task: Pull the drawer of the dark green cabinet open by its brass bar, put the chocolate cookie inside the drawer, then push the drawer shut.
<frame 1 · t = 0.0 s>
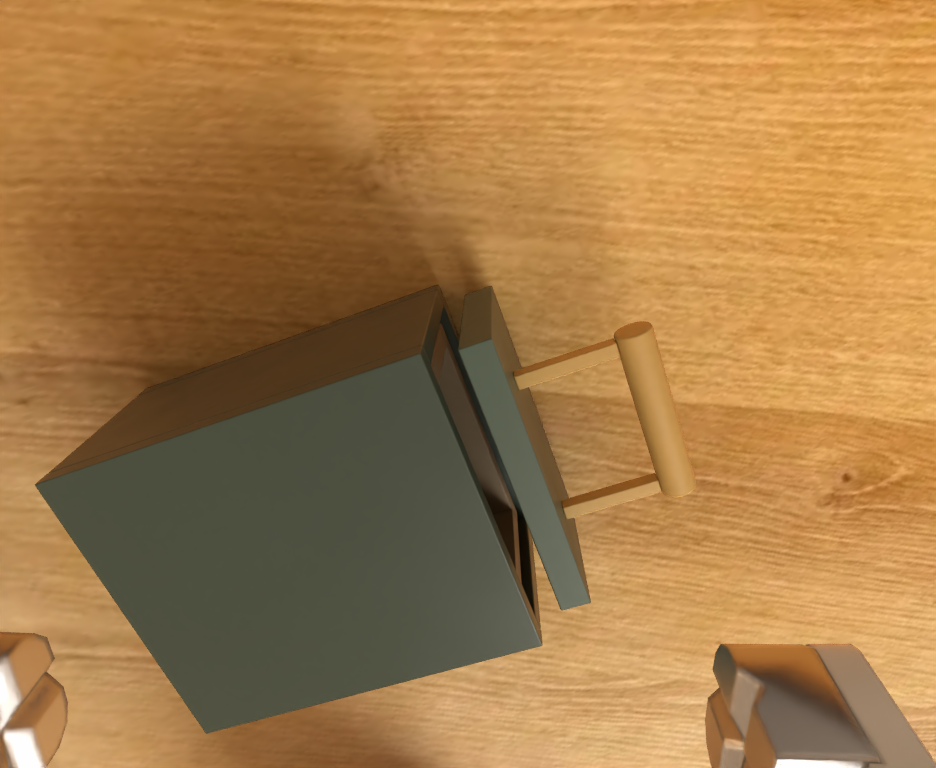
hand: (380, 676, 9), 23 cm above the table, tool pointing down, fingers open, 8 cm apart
drawer: (443, 467, 29), point 4 cm above the table, slide at 1.0 cm
cabinet: (344, 455, 33), on the table
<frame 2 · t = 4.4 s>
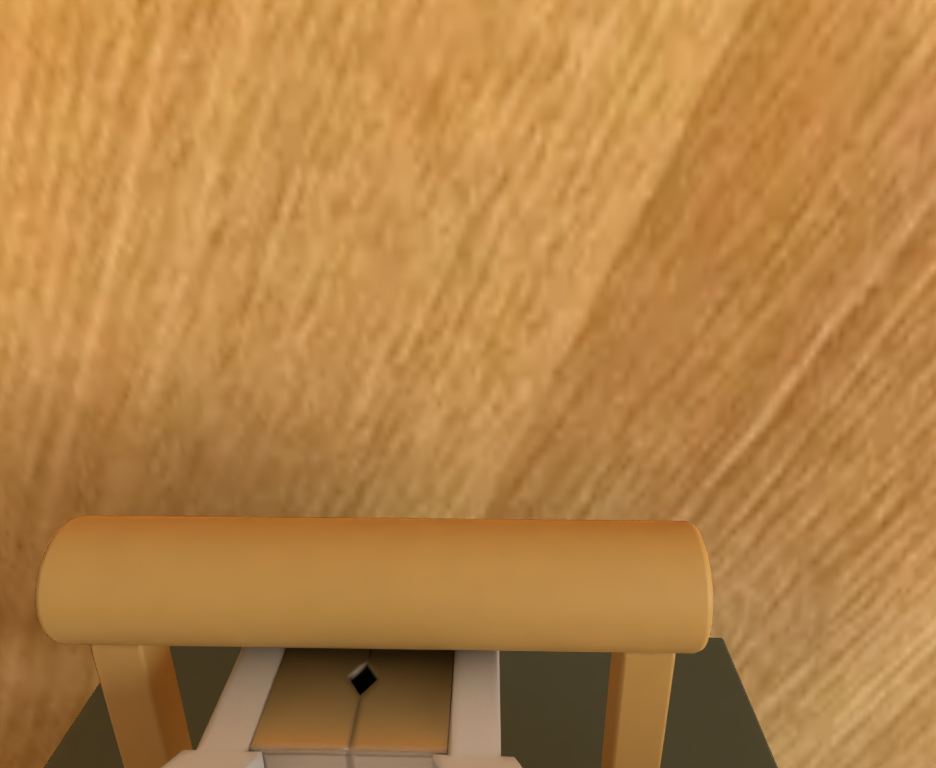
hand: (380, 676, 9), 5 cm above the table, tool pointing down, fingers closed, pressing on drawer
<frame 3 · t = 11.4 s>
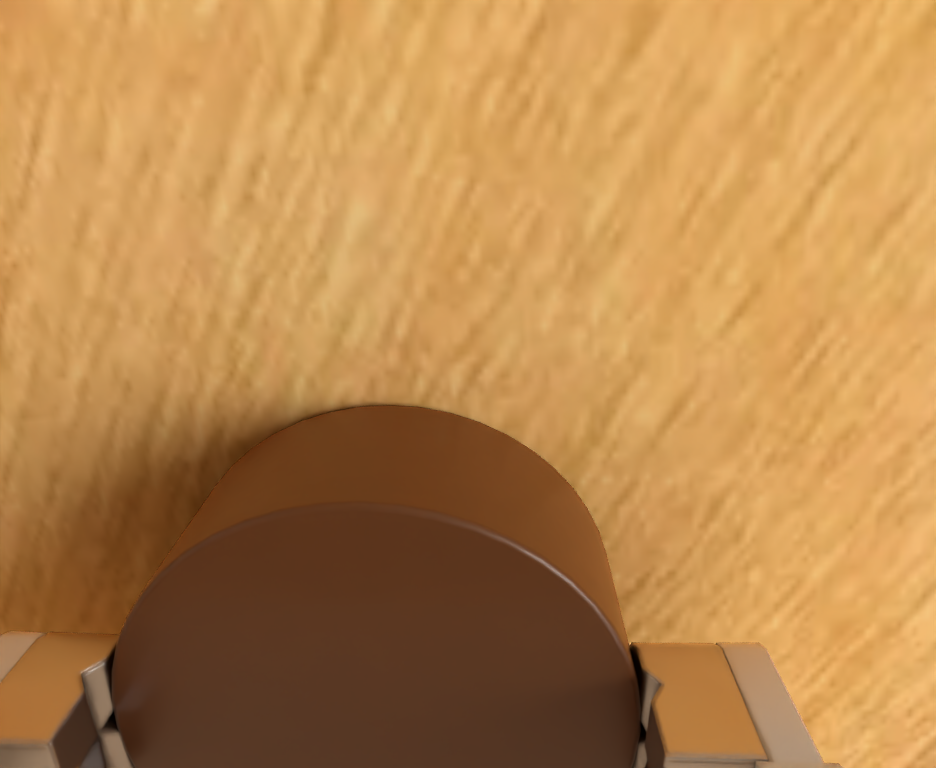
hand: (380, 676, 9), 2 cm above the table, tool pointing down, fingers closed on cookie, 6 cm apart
cookie: (400, 592, 10), on the table, touching gripper
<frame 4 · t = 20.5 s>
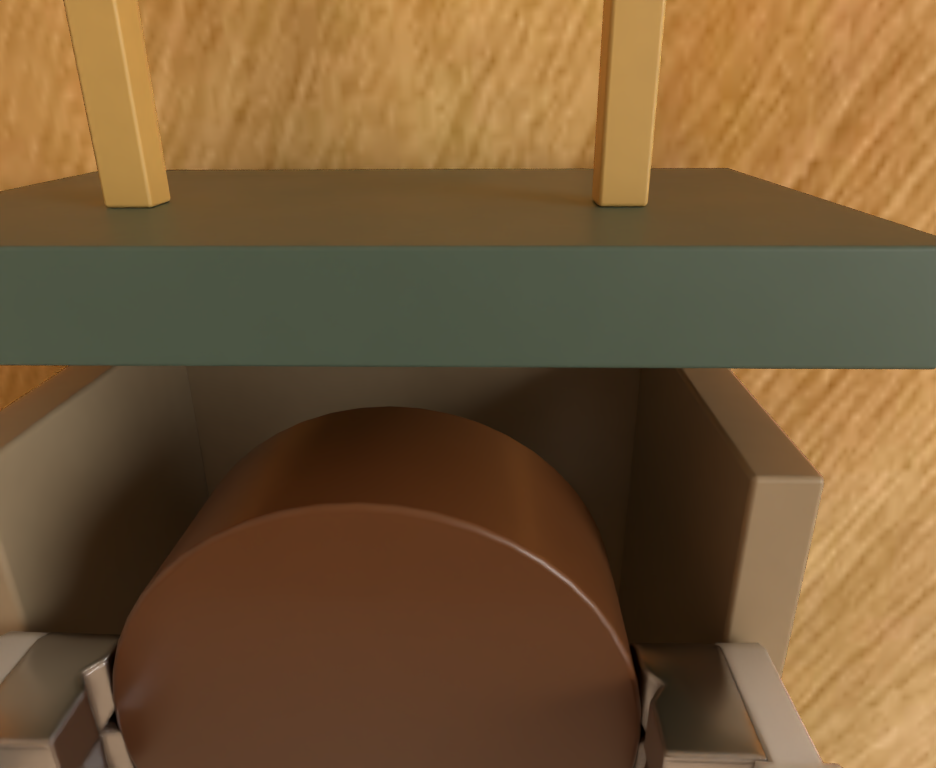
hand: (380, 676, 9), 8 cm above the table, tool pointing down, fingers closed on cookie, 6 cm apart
drawer: (399, 460, 11), point 4 cm above the table, slide at 8.3 cm, touching gripper
cookie: (401, 592, 10), point 6 cm above the table, touching gripper
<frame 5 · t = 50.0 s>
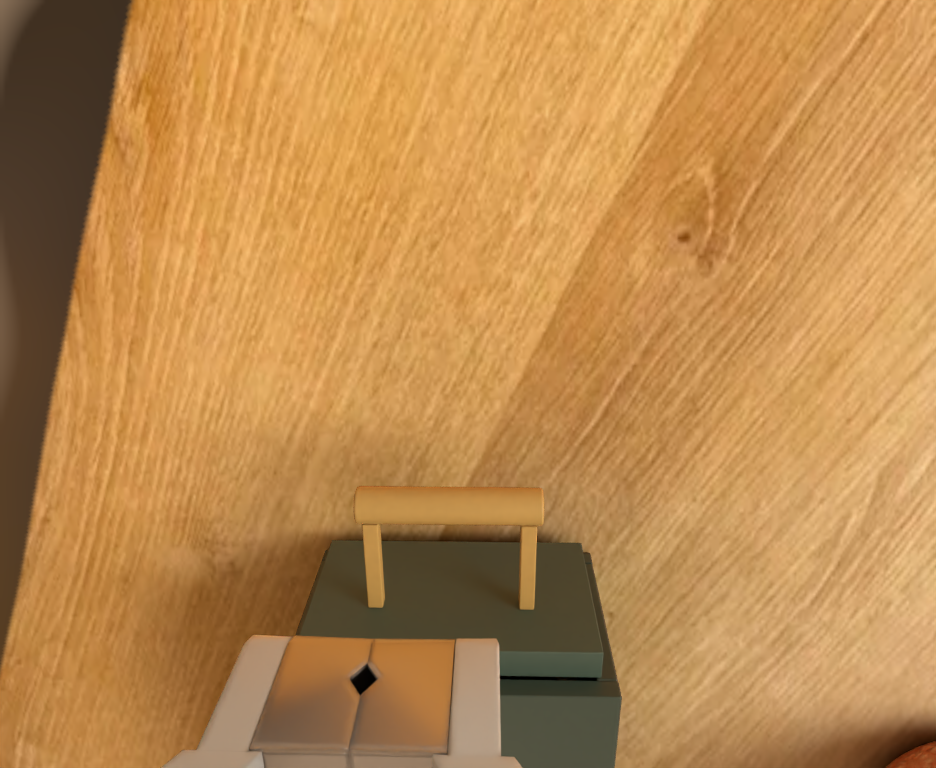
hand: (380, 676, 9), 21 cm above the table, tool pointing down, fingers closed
drawer: (453, 666, 30), point 4 cm above the table, slide at 0.0 cm, touching cabinet, cookie
cabinet: (458, 668, 36), on the table
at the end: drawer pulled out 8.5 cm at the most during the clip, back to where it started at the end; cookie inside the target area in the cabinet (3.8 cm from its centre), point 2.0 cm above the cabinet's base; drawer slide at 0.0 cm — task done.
